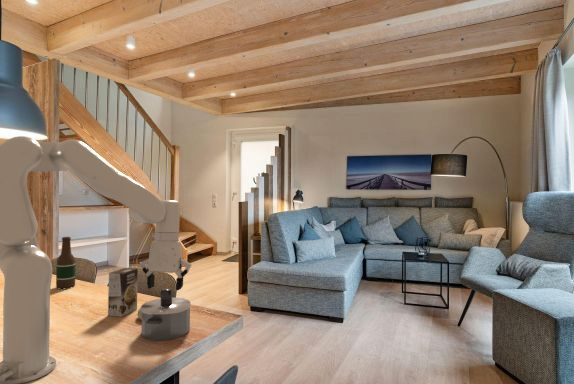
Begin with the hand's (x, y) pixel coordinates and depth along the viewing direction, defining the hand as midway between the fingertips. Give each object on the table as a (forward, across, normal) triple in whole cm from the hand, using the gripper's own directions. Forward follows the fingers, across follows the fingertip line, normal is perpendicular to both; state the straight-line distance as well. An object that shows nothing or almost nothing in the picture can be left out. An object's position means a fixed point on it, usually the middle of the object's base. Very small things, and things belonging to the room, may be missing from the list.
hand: (164, 288), depth 114 cm
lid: (+7, 0, +1) cm, 7 cm away
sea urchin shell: (+15, -10, +12) cm, 21 cm away
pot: (+14, +1, +1) cm, 14 cm away
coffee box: (+15, -23, +16) cm, 32 cm away
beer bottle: (+15, -69, +45) cm, 84 cm away
